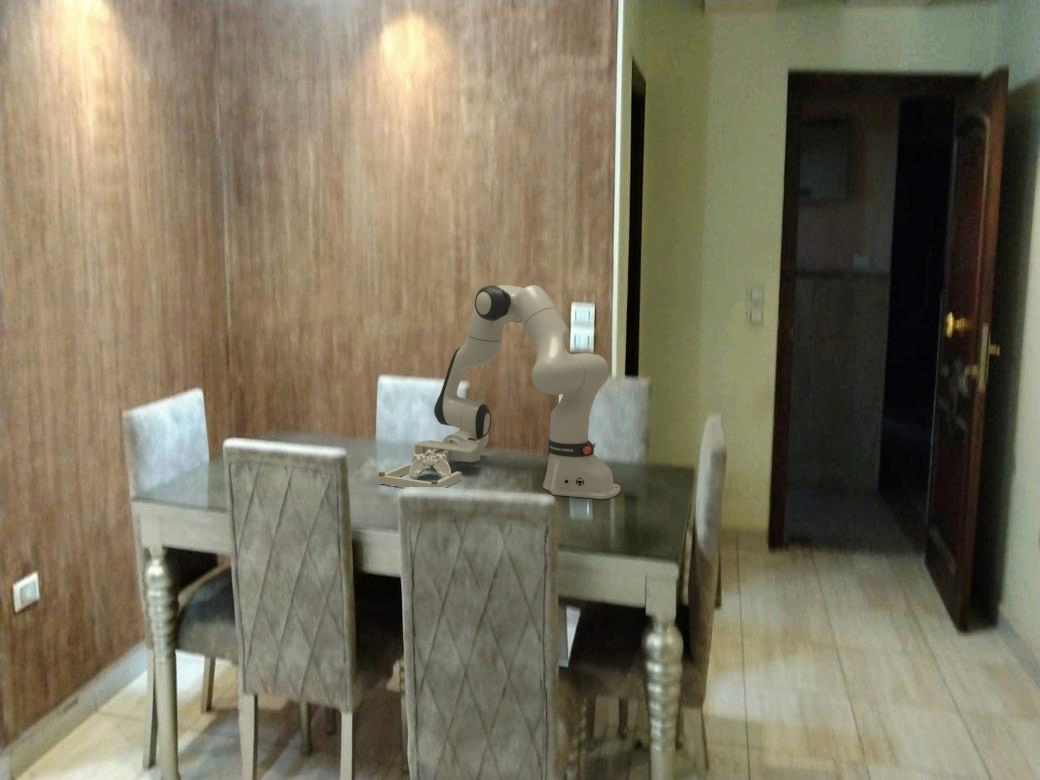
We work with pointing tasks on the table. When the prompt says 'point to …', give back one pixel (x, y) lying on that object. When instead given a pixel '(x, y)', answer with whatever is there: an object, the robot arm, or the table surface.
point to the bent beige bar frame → (394, 479)
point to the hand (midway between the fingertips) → (434, 456)
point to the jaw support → (429, 464)
